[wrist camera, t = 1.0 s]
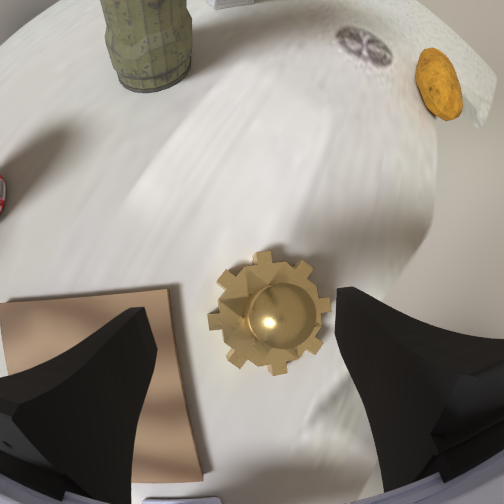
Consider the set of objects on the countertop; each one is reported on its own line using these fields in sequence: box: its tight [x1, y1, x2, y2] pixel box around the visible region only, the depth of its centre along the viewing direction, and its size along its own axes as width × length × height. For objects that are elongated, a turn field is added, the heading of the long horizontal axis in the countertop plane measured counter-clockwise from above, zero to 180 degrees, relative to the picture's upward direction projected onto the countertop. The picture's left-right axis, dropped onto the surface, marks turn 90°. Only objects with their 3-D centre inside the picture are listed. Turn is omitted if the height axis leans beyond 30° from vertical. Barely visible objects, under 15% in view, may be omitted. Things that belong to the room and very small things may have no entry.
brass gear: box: [207, 251, 331, 376], centre depth 22 cm, size 10×10×6 cm
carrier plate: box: [0, 289, 203, 483], centre depth 19 cm, size 18×18×4 cm
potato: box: [415, 48, 463, 121], centre depth 30 cm, size 8×14×7 cm, turn 161°
